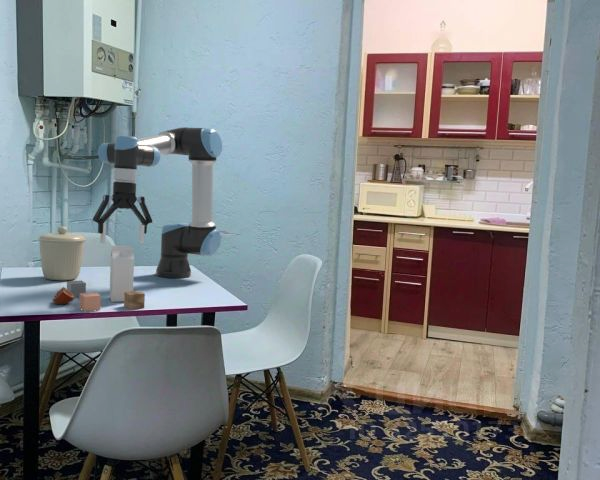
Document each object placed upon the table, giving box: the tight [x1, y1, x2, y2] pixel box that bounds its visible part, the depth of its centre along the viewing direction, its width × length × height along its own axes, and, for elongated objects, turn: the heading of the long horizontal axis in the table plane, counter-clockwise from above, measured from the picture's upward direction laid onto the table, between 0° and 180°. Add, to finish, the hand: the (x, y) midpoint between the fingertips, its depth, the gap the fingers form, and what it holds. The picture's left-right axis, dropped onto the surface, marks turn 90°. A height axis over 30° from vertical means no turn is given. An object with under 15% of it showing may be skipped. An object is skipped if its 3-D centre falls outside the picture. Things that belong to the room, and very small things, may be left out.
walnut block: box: [123, 290, 146, 310], centre depth 190 cm, size 5×5×5 cm
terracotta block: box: [78, 292, 101, 312], centre depth 183 cm, size 5×5×5 cm
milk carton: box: [109, 245, 135, 303], centre depth 198 cm, size 7×7×19 cm
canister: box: [36, 226, 87, 282], centre depth 228 cm, size 18×18×21 cm
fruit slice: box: [52, 286, 76, 305], centre depth 188 cm, size 8×7×5 cm
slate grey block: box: [66, 279, 87, 298], centre depth 200 cm, size 5×5×5 cm
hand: (122, 243), depth 197 cm, fingers open, 13 cm apart
